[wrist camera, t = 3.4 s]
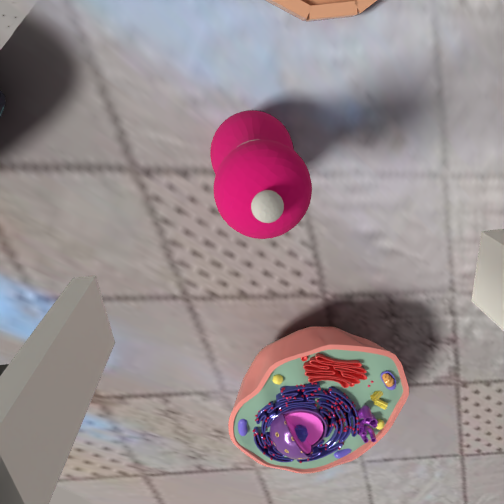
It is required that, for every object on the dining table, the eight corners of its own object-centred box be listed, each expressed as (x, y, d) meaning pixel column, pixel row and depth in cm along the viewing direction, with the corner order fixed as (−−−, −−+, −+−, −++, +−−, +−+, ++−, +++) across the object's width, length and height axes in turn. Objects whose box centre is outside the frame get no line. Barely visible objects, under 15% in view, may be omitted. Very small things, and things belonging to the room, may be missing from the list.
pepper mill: (301, 136, 39) (365, 194, 21) (257, 196, 42) (282, 295, 23) (240, 89, 37) (253, 109, 19) (197, 155, 40) (172, 228, 21)
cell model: (406, 367, 52) (451, 441, 42) (275, 437, 56) (286, 520, 45) (343, 271, 46) (378, 330, 36) (200, 356, 50) (193, 432, 39)
